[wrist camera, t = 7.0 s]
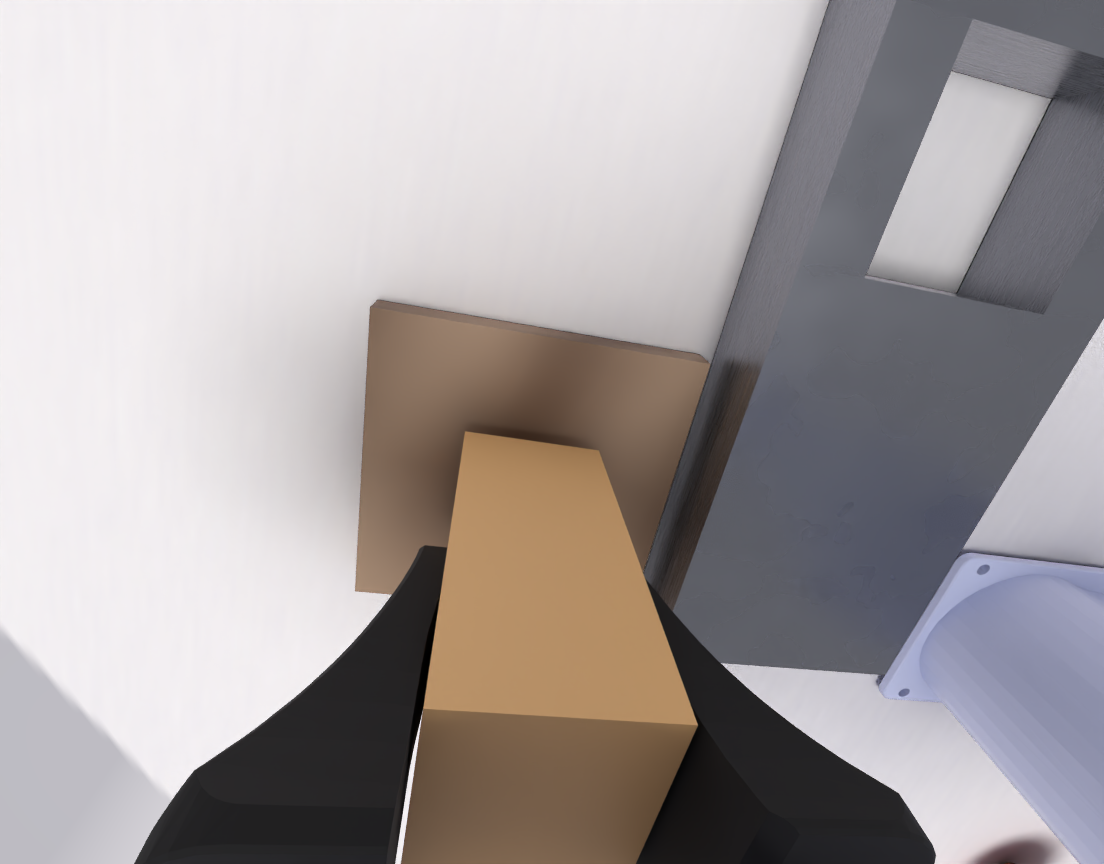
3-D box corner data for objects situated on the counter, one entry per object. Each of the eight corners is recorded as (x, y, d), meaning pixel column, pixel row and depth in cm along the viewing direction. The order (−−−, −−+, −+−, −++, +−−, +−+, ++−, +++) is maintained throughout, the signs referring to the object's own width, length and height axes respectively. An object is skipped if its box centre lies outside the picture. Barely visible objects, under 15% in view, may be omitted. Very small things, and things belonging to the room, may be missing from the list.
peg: (598, 450, 16) (698, 725, 8) (570, 557, 18) (629, 877, 9) (465, 431, 15) (423, 708, 7) (448, 543, 17) (399, 875, 9)
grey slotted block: (1183, -32, 14) (1351, -85, 11) (838, 616, 23) (885, 675, 20) (874, -138, 12) (980, -228, 10) (635, 597, 21) (655, 658, 18)
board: (699, 354, 17) (710, 364, 16) (623, 596, 21) (628, 614, 20) (377, 299, 16) (370, 307, 15) (361, 572, 20) (355, 591, 19)
